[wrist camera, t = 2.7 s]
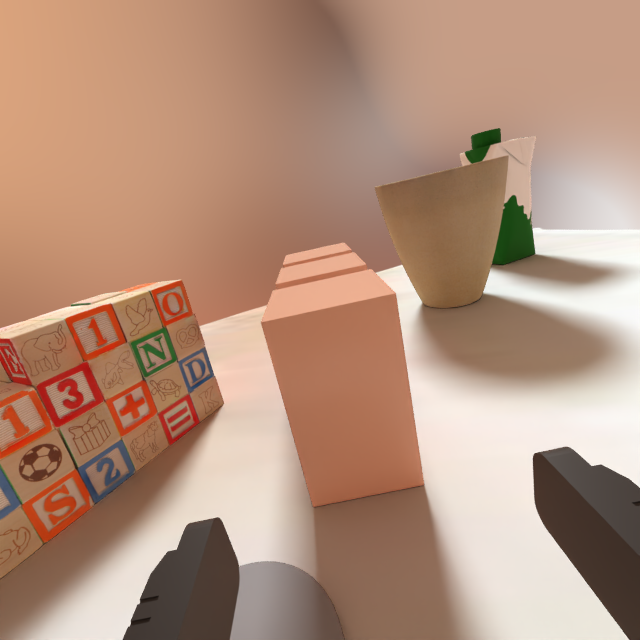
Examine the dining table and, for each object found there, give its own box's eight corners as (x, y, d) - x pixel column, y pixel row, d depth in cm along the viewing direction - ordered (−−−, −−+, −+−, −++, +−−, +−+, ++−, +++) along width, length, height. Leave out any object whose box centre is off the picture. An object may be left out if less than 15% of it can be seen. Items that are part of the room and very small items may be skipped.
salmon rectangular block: (310, 421, 27) (275, 284, 24) (309, 382, 33) (281, 268, 29) (390, 405, 27) (366, 264, 23) (375, 369, 33) (354, 252, 29)
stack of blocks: (-102, 665, 16) (-307, 446, 12) (-125, 607, 19) (-292, 420, 16) (226, 403, 33) (182, 276, 29) (183, 396, 36) (139, 281, 32)
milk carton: (462, 262, 63) (452, 141, 57) (500, 250, 66) (494, 133, 59) (504, 267, 55) (497, 126, 49) (545, 252, 58) (544, 117, 51)
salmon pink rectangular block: (313, 507, 19) (260, 322, 16) (311, 436, 25) (273, 290, 22) (424, 485, 19) (395, 293, 16) (396, 419, 25) (371, 269, 22)
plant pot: (424, 282, 56) (411, 177, 51) (528, 282, 46) (525, 151, 41) (371, 316, 47) (349, 190, 42) (489, 325, 36) (479, 160, 31)
